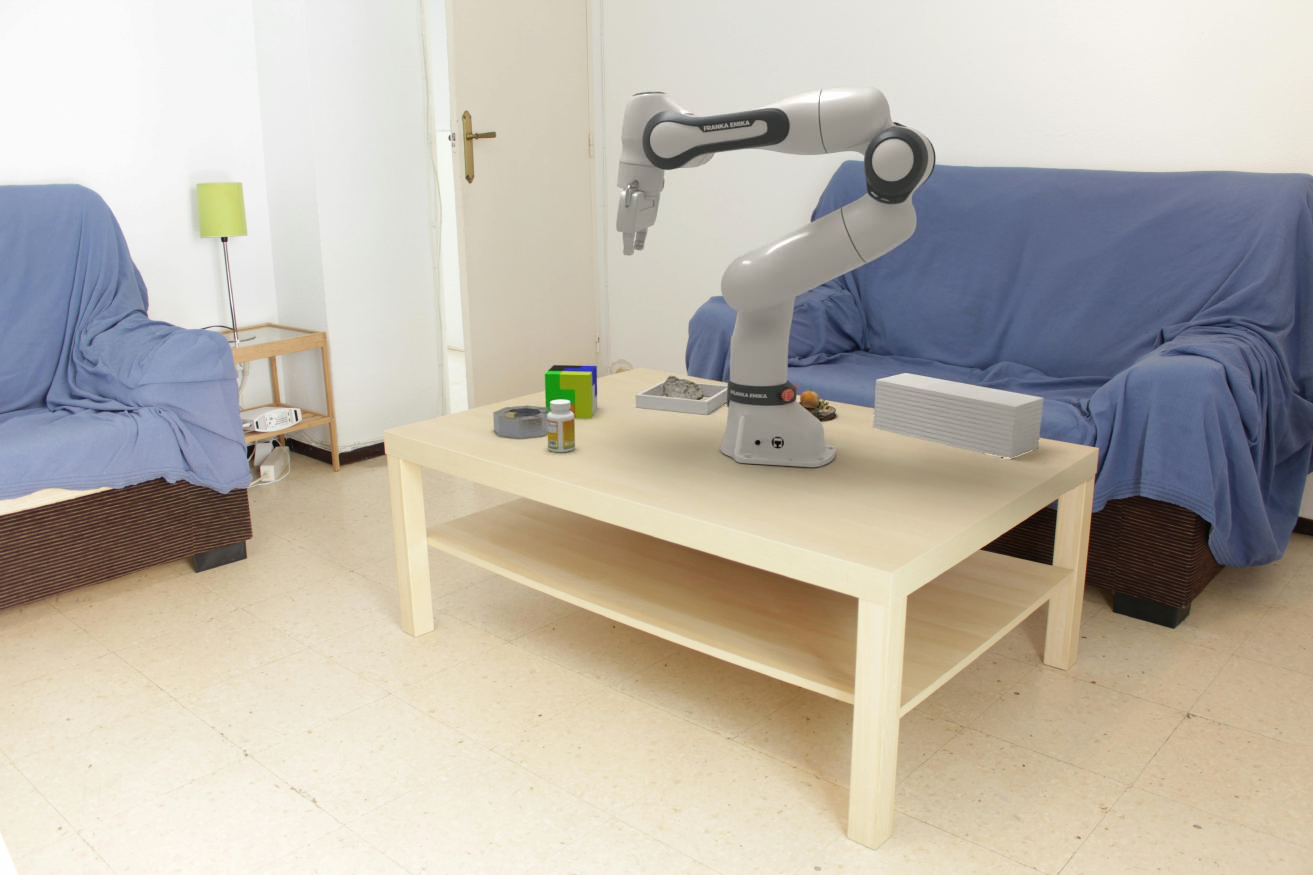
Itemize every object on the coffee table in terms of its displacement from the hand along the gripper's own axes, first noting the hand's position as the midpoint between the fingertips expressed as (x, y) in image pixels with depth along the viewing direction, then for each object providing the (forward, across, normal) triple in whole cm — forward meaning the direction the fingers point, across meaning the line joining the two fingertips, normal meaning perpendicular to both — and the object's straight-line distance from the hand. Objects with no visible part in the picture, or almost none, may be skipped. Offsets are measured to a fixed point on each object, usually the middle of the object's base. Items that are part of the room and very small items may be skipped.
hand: (633, 252), depth 197 cm
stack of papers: (+31, +12, -68) cm, 76 cm away
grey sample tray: (+38, +32, -9) cm, 50 cm away
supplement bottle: (+39, -11, +8) cm, 42 cm away
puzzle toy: (+40, +18, +14) cm, 46 cm away
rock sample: (+38, +32, -9) cm, 50 cm away
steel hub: (+40, 0, +20) cm, 45 cm away
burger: (+35, +26, -38) cm, 58 cm away
